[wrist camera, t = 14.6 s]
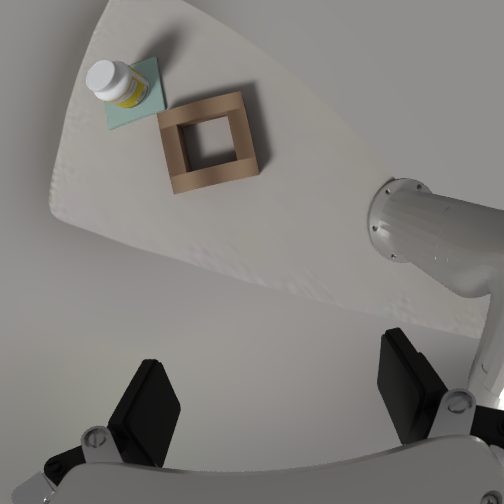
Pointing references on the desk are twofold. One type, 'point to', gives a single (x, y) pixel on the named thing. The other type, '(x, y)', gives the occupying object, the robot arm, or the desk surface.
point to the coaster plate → (148, 106)
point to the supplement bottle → (117, 83)
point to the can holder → (202, 112)
